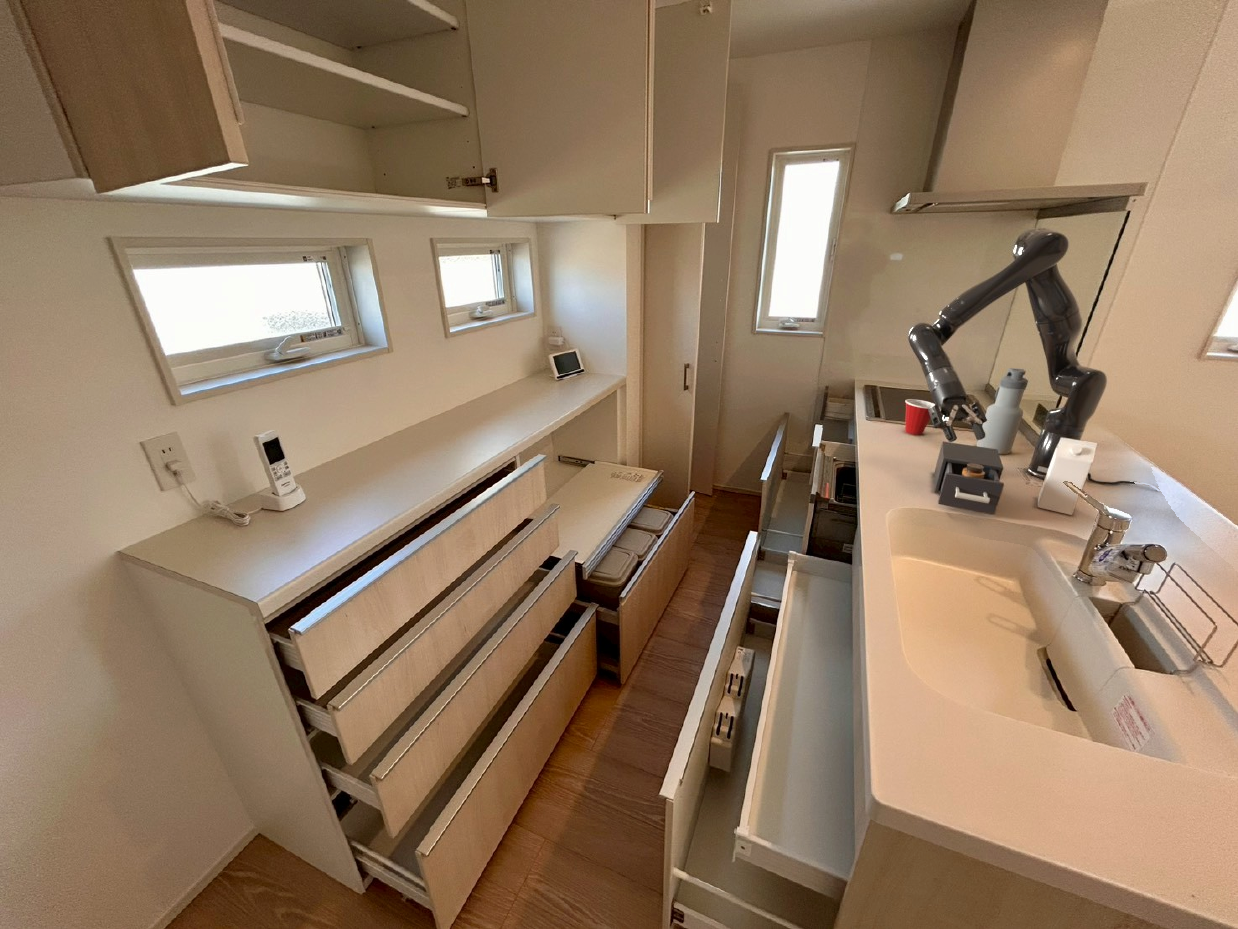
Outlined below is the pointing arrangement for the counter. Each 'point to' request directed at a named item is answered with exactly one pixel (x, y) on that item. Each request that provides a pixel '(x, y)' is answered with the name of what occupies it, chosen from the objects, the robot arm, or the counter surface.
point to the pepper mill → (974, 471)
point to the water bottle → (1005, 413)
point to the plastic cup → (917, 416)
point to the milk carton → (1066, 475)
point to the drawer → (970, 489)
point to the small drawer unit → (965, 459)
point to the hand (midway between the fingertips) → (967, 439)
